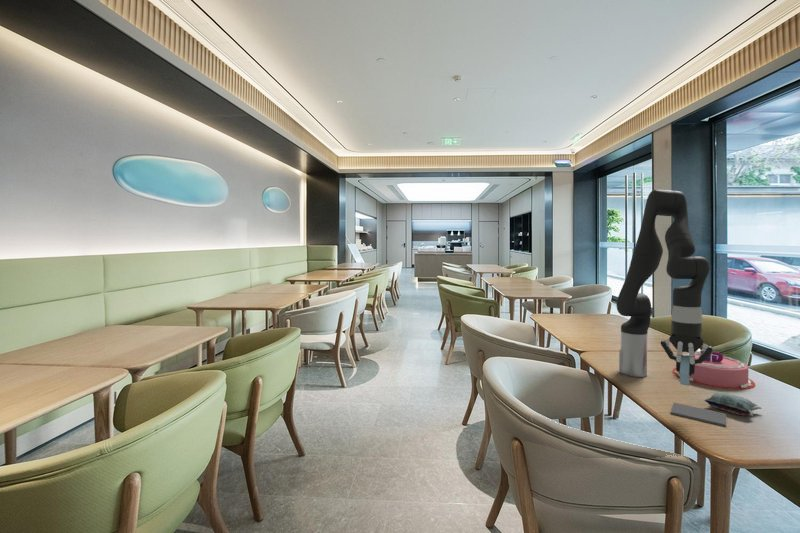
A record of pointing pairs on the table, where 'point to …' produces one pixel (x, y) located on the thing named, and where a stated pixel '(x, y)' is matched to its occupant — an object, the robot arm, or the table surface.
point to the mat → (699, 414)
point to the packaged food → (732, 403)
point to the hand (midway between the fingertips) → (685, 373)
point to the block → (685, 370)
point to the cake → (720, 372)
